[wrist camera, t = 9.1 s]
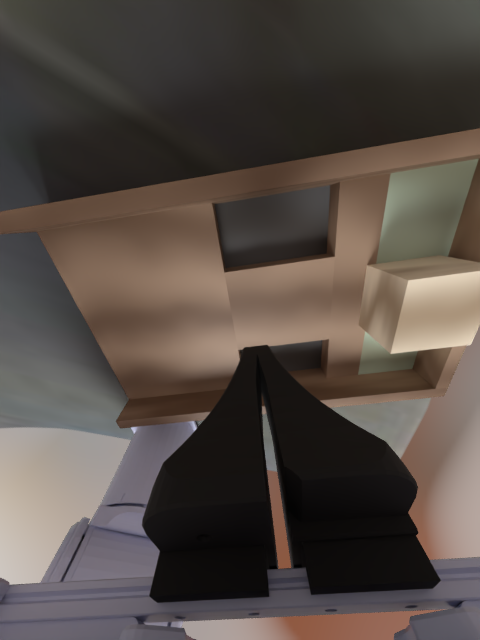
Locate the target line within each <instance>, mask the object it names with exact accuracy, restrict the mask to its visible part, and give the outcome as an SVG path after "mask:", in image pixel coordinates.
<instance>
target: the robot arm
mask: <svg viewBox="0 0 480 640" xmlns="http://www.w3.org/2000/svg"><path fill="white" fill-rule="evenodd" d="M262 396H263V401H264V405H265V409H266V413H267V417H268V422H269V426H270V430H271V435H272V440H273V445H274V452H275V459H276V465H277V472H278V479H279V485H280V492H281V499H282V506H283V513H284V519H285V526H286V533H287V540H288V546H289V553H290V560H291V568H286V569H278V560H277V552H276V544H275V535H274V527H273V518H272V510H271V502H270V494H269V485H268V476H267V468H266V459H265V450H264V441H263V419H262ZM131 428H132V430H133V432H134V433H135V434H134V436H133V438H132V440H131V442H130V444H129V446H128V448H127V450H126V452H125V454H124V456H123V459H122V461H121V463H120V465H119V467H118V469H117V471H116V473H115V475H114V477H113V479H112V481H111V483H110V485H109V488H108V490H107V492H106V494H105V496H104V498H103V500H102V502H101V504H100V506H99V507H98V509H97V511H96V513H95V515H94V516H93V518H92V520H91V521H90V523H89V520H90V519H89V518H86V517H84V518H82V519H81V521H80V522H77V523H76V524H74V525H73V526H72V527H71V528H70V530H69V532H68V533H67V535H66V537H65V539H64V540H63V542H62V544H61V546H60V548H59V549H58V551H57V553H56V555H55V557H54V559H53V560H52V562H51V564H50V566H49V568H48V570H47V571H46V573H45V575H44V577H43V579H42V581H41V583H32V584H17V585H9V582H8V581H6V580H4V579H2V578H0V640H195V639H192V638H191V637H189V636H187V635H186V632H185V630H184V628H181V627H182V623H183V621H200V620H222V619H243V618H265V617H287V616H308V615H328V614H329V615H330V614H351V613H372V612H394V611H414V610H415V611H416V610H438V609H447V610H442V611H436V612H432V613H426V614H420V615H415V616H411V617H410V621H409V623H410V625H409V626H408V627H407V628H406V629H403V630H401V631H399V632H397V633H395V634H394V640H480V557H472V558H457V559H456V558H455V559H438V560H429V558H428V557H427V555H426V553H425V551H424V549H423V548H422V546H421V544H420V542H419V541H418V539H417V537H416V535H417V534H418V531H417V528H416V526H415V524H414V522H413V521H412V519H411V517H410V516H409V514H408V511H409V509H410V508H411V506H412V503H413V502H414V500H415V498H416V494H417V488H418V486H417V483H416V481H415V479H414V478H413V476H412V475H411V474H410V472H409V471H408V469H407V468H406V466H405V465H404V463H403V462H402V461H401V460H400V458H399V457H398V456H397V455H396V453H395V452H394V451H393V450H392V449H391V447H390V446H389V445H388V444H387V442H385V441H384V440H382V439H380V438H378V437H376V436H375V435H373V434H371V433H369V432H367V431H366V430H364V429H362V428H360V427H358V426H357V425H355V424H353V423H352V422H350V421H348V420H347V419H345V418H344V417H342V416H341V415H339V414H338V413H336V412H335V411H334V410H332V409H331V408H329V407H328V406H326V405H325V404H324V403H322V402H321V401H320V400H318V399H317V398H316V397H315V396H313V395H312V394H311V393H310V392H309V391H308V390H306V389H305V388H304V387H303V386H302V385H301V384H300V383H299V382H298V381H297V380H296V379H295V378H294V377H293V376H292V375H291V374H290V373H289V372H288V371H287V370H286V369H285V367H284V366H283V365H282V364H281V363H280V361H279V360H278V359H277V358H276V356H275V355H274V353H273V352H272V350H271V349H270V347H269V346H268V345H260V346H252V347H244V348H243V350H242V355H241V358H240V361H239V363H238V366H237V368H236V370H235V373H234V375H233V377H232V379H231V381H230V382H229V384H228V386H227V388H226V390H225V391H224V393H223V395H222V396H221V398H220V399H219V401H218V402H217V404H216V405H215V406H214V408H213V409H212V411H211V412H210V413H209V415H208V416H207V417H206V418H205V420H204V421H203V422H202V423H201V424H200V425H199V426H198V428H197V425H196V422H195V421H190V422H180V423H170V424H160V425H150V426H140V427H131ZM88 523H89V524H88Z"/></svg>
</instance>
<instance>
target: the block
mask: <svg viewBox="0 0 480 640" xmlns="http://www.w3.org/2000/svg"><path fill="white" fill-rule="evenodd" d="M479 325H480V263H479V262H474V261H468V260H463V259H458V258H452V257H447V256H441V255H436V256H429V257H422V258H415V259H408V260H401V261H393V262H386V263H379V264H372V265H367V269H366V276H365V283H364V290H363V297H362V304H361V311H360V318H359V326H360V327H361V328H362V329H363V330H364V331H366V332H367V333H368V334H369V335H370V336H371V337H372V338H373V339H374V340H376V341H377V342H378V343H379V344H380V345H381V346H382V347H383V348H385V349H386V350H387V351H388V352H389V353H390V354H394V353H403V352H412V351H420V350H429V349H438V348H447V347H456V346H465V345H471V343H472V341H473V339H474V336H475V334H476V332H477V330H478V327H479Z"/></svg>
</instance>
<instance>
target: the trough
mask: <svg viewBox="0 0 480 640" xmlns="http://www.w3.org/2000/svg"><path fill="white" fill-rule="evenodd" d="M26 232H37V233H38V235H39V237H40V239H41V241H42V242H43V244H44V246H45V248H46V250H47V251H48V253H49V255H50V257H51V259H52V261H53V262H54V264H55V266H56V268H57V270H58V271H59V273H60V275H61V277H62V279H63V280H64V282H65V284H66V286H67V288H68V290H69V291H70V293H71V295H72V297H73V299H74V300H75V302H76V304H77V306H78V308H79V309H80V311H81V313H82V315H83V317H84V319H85V320H86V322H87V324H88V326H89V328H90V329H91V331H92V333H93V335H94V337H95V339H96V340H97V342H98V344H99V346H100V348H101V349H102V351H103V353H104V355H105V357H106V358H107V360H108V362H109V364H110V366H111V368H112V369H113V371H114V373H115V375H116V377H117V378H118V380H119V382H120V384H121V386H122V387H123V389H124V391H125V393H126V395H127V397H128V398H129V401H128V402H127V404H126V406H125V407H124V409H123V410H122V412H121V414H120V415H119V417H118V419H117V420H116V422H117V424H118V426H119V427H120V428H130V427H140V426H150V425H160V424H170V423H180V422H190V421H200V420H205V418H206V417H207V416H208V415H209V413H210V412H211V411H212V409H213V408H214V406H215V405H216V404H217V402H218V401H219V399H220V398H221V396H222V395H223V393H224V391H225V390H226V388H227V386H228V384H229V382H230V381H231V379H232V377H233V375H234V373H235V370H236V368H237V366H238V363H239V361H240V358H241V355H242V350H243V348H244V347H252V346H260V345H268V346H269V347H270V349H271V350H272V352H273V353H274V355H275V356H276V358H277V359H278V360H279V361H280V363H281V364H282V365H283V366H284V367H285V369H286V370H287V371H288V372H289V373H290V374H291V375H292V376H293V377H294V378H295V379H296V380H297V381H298V382H299V383H300V384H301V385H302V386H303V387H304V388H305V389H306V390H308V391H309V392H310V393H311V394H312V395H313V396H315V397H316V398H317V399H318V400H320V401H321V402H322V403H324V404H325V405H326V406H328V407H329V408H331V407H341V406H351V405H361V404H371V403H381V402H391V401H401V400H411V399H421V398H431V397H441V396H444V395H445V393H446V391H447V389H448V386H449V384H450V382H451V380H452V377H453V375H454V373H455V370H456V368H457V366H458V364H459V361H460V359H461V357H462V355H463V352H464V350H465V348H466V346H467V345H465V346H456V347H447V348H438V349H429V350H420V351H412V352H403V353H394V354H390V353H389V352H388V351H387V350H386V349H385V348H383V347H382V346H381V345H380V344H379V343H378V342H377V341H376V340H374V339H373V338H372V337H371V336H370V335H369V334H368V333H367V332H366V331H364V330H363V329H362V328H361V327H360V326H359V318H360V311H361V304H362V297H363V290H364V283H365V276H366V269H367V265H372V264H379V263H386V262H393V261H401V260H408V259H415V258H422V257H429V256H436V255H441V256H447V257H452V258H458V259H463V260H468V261H474V262H479V263H480V128H478V129H473V130H467V131H461V132H455V133H450V134H444V135H438V136H432V137H427V138H421V139H415V140H409V141H404V142H398V143H392V144H386V145H381V146H375V147H369V148H363V149H358V150H352V151H346V152H340V153H335V154H329V155H323V156H317V157H312V158H306V159H300V160H294V161H289V162H283V163H277V164H271V165H266V166H260V167H254V168H248V169H243V170H237V171H231V172H225V173H220V174H214V175H208V176H202V177H197V178H191V179H185V180H179V181H174V182H168V183H162V184H156V185H151V186H145V187H139V188H133V189H128V190H122V191H116V192H110V193H105V194H99V195H93V196H87V197H82V198H76V199H70V200H64V201H59V202H53V203H47V204H41V205H36V206H30V207H24V208H18V209H13V210H7V211H1V212H0V234H11V233H26ZM262 414H267V413H266V409H265V405H264V401H263V396H262Z"/></svg>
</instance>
